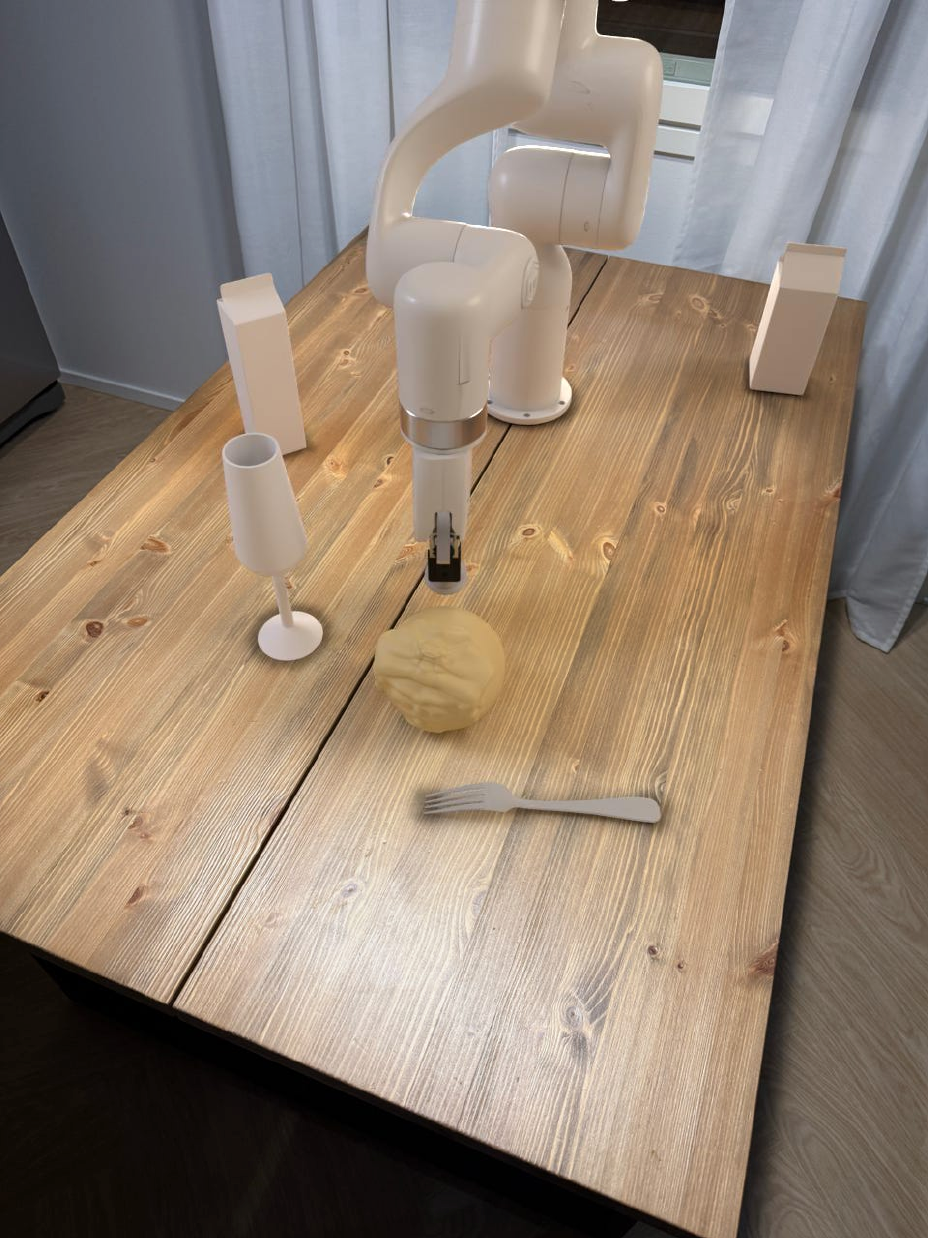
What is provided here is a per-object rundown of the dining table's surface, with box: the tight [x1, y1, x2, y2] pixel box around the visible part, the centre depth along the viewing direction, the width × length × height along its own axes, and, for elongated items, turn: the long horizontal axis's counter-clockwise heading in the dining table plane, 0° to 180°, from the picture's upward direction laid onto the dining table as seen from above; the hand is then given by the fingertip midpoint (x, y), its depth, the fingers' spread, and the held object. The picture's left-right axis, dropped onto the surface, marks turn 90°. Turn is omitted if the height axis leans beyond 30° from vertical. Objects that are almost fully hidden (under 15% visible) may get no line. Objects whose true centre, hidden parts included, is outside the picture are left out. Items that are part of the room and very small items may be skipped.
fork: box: [423, 781, 662, 824], centre depth 79 cm, size 3×21×3 cm, turn 88°
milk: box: [216, 272, 307, 456], centre depth 105 cm, size 6×6×22 cm
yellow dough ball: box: [372, 605, 507, 734], centre depth 83 cm, size 12×12×11 cm
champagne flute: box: [221, 433, 324, 661], centre depth 83 cm, size 7×7×24 cm
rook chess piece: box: [423, 538, 469, 596], centre depth 89 cm, size 4×4×8 cm
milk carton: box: [749, 241, 848, 396], centre depth 116 cm, size 7×7×19 cm
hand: (444, 563), depth 90 cm, fingers closed on rook chess piece, 3 cm apart
